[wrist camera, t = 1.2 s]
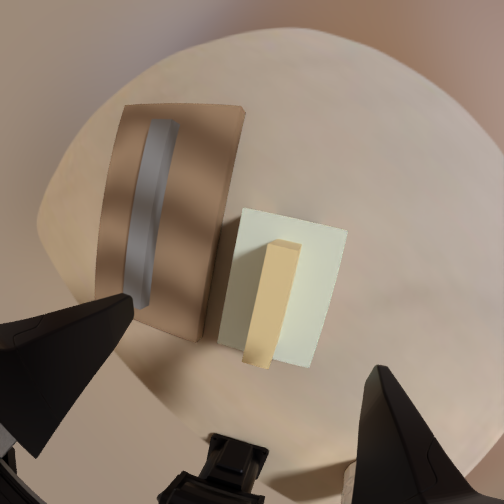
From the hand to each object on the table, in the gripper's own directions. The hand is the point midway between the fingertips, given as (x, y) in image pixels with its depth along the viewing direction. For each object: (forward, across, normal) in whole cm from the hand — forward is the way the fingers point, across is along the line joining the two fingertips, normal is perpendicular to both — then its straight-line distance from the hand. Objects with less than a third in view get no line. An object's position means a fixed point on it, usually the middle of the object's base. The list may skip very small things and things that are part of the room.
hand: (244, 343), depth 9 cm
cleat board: (+14, +12, +2) cm, 18 cm away
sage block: (+13, 0, +4) cm, 14 cm away
